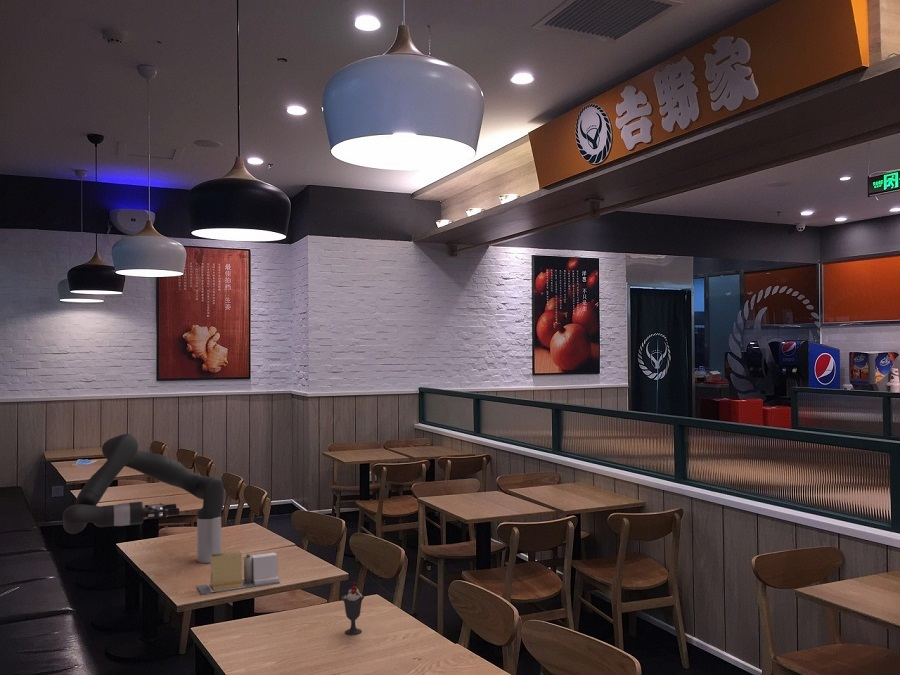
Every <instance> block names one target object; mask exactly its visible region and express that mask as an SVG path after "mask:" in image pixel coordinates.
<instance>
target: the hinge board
mask: <svg viewBox="0 0 900 675" xmlns="http://www.w3.org/2000/svg"><path fill="white" fill-rule="evenodd" d="M242 583H243V587H237V588H231V589H224V590H217V591H213V589H212V588H211V586H210V583H209V584H201V585H197V586H196V588H197V589H199V590H198V591H200V592H199V593H200V595H201V594H204V595H208V594H207V593H210V594H214V593H213V592H217V593H221V592H220V591H224V592H229V591H230V590H231V591H236V590H243V589H250V588H257V586H258V587H263V586H262V585H264V586H269V584H271V585H278V584H281V582H280V578H279V576H278V554H277V553H276V552H269V553H268V552H267V553H260V554H253V555H251V554H250V553H247V554H246V555H245V556H244V557H243V578H242Z"/></svg>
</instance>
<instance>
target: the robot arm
mask: <svg viewBox="0 0 900 675" xmlns="http://www.w3.org/2000/svg"><path fill="white" fill-rule="evenodd" d="M101 451H102V455H103V457H104V458H105V459H106V461H104V462H105V463H103V465H101V467H100V468H99V469H98V470H97V471H95V473H93V475H91V477H90V478H89V479H88V480H87V481H86V482H85V484H84V486H83V487H82V488H81V490H80V491H79V493H78V495H77V496H76V500H75V503H74V504H72V505H69V506H68V507H67V508H65V510H63V514H62V526H63V528H64V531H65V532H66V533H67V534H69V535H70V534H71V535H74V534H78V533H81V532H82V531H83V530H84V529H86V528H87V525H88V523H89V524H94V525H95V527H97V528H106V527H123V526H133V525H142V524H143V523H144V518H147V520H154V519H155V520H156V519H166V518H167V517H169V516H178V515H180V508H179V507H177V504H176V503H171V504H170V503H169V504H165V503H162V502H161V503H160V502H159V503H157V504H156V503H155V504H145V505H144V503H143V501H135V502H124V503H123V502H122V503H117V504H110V505H109V504H108V505H98V504H99V503H100V501H101V499H102V498H103V496H104V494H105V493H106V491H107V490H108V489H109V487H110V486H111V484H112V482H114V480H115V478H116V477H117V476H118V475H119V474H120V473H121V471H122V469H124V467H126V468H130V469H133V470H134V471H137V472H139V473H142V474H144V475H146V476H149V477H151V478H153V479H155V480H157V481H159V482H161V483H165V484H168V485H170V486H173V487H176V488H180V489H182V490H184V491H185V492H187V493H189V494H191V495H192V496H194V497H195V498H198V499H200V500H202V507H201V508H200V509H198V510H197V512H196V526H197V527H196V528H197V530H196V531H197V532H196V536H197V537H196V539H197V542H196V543H197V544H196V546H197V547H196V549H197V551H196V552H197V553H196V554H197V555H196V557H197V560H196V561H197V562H198V563H202V564H211V562H210V555H211V554H219V553H222V511H223V508H224V496H225V495H224V494H225V493H224V492H225V490H224V489H225V488H224V484H223V481H222V480H221V478H218V477H215V476H207V475H202V474H198V473H195V472H192V471H190V470H188V469H187V468H186V467H185V466H184V465H183V464H182V463H181V462H179V461H178V460H176V459H174V458H171V457H169V456H167V455H164V454H159V453H154V452H146V451H141V450H139V442H138V439H137V438H136V437H135V436H134V435H133V434H130V433H122V434H119V435H118V436H115V437H111V438H109V439H107V440H105V442H103V444H102V447H101Z"/></svg>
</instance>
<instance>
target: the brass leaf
mask: <svg viewBox="0 0 900 675" xmlns="http://www.w3.org/2000/svg"><path fill="white" fill-rule="evenodd" d="M242 559H243V558H242V552H241V550H237V551H230V552H229V551H227V552H221V553H219V554H211V555H210V562H211V563H210V581H209V584H210V586H211V588H212V589H213V591H217V590H224V589H231V588H237V587H243V583H242V579H243V576H242V574H243V573H242V572H243V570H242V568H243V567H242V564H243V563H242V561H243V560H242Z"/></svg>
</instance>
